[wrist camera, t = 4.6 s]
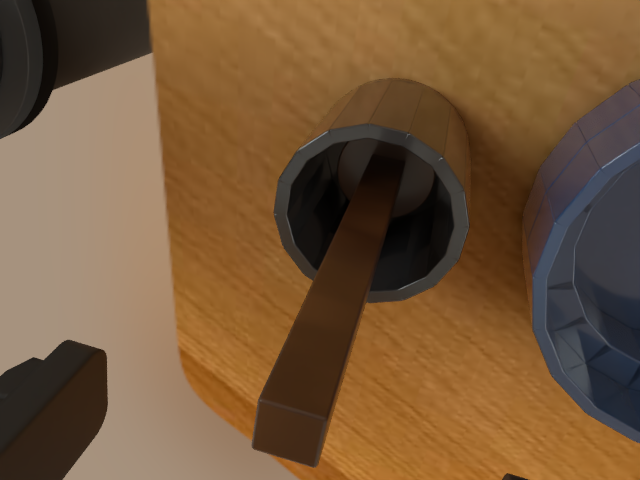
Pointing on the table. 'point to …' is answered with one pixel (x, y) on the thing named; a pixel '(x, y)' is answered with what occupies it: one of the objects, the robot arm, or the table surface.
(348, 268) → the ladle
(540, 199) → the mixing bowl
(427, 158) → the crock
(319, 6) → the table surface
